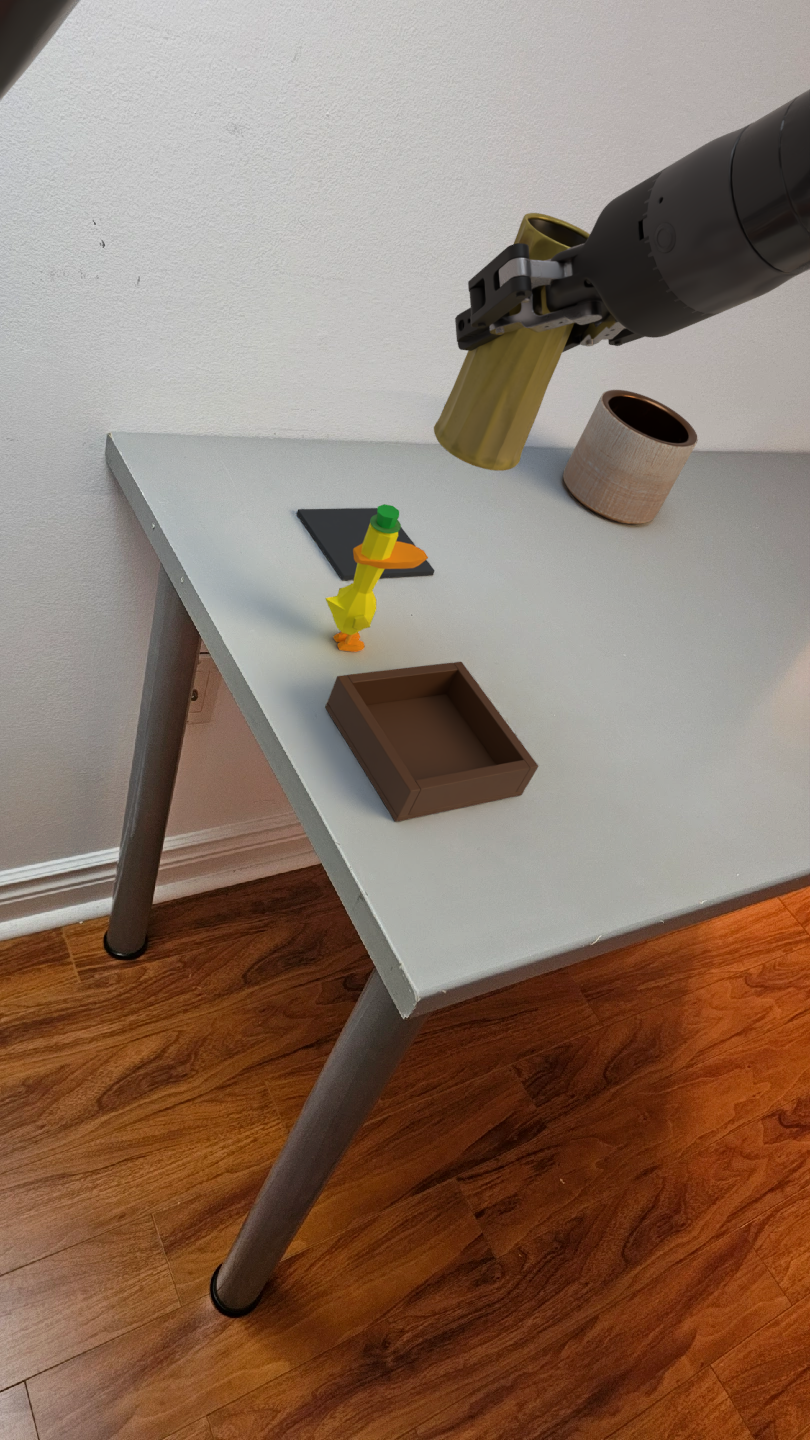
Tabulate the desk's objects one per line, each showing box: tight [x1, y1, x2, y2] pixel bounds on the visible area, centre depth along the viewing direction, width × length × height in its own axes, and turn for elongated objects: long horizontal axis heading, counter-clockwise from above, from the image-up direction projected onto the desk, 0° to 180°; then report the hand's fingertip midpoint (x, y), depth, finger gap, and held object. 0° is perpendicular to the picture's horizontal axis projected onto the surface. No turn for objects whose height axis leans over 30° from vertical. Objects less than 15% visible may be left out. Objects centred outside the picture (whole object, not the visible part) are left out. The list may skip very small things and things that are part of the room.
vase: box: [433, 212, 590, 472], centre depth 66 cm, size 6×6×14 cm
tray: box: [324, 661, 539, 823], centre depth 72 cm, size 11×11×3 cm
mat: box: [296, 507, 436, 581], centre depth 90 cm, size 9×9×1 cm
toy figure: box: [324, 503, 429, 653], centre depth 75 cm, size 7×4×12 cm, turn 114°
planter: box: [562, 389, 699, 525], centre depth 109 cm, size 11×11×10 cm
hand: (500, 338), depth 67 cm, fingers closed on vase, 5 cm apart
